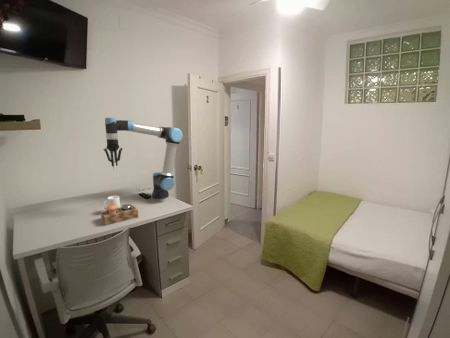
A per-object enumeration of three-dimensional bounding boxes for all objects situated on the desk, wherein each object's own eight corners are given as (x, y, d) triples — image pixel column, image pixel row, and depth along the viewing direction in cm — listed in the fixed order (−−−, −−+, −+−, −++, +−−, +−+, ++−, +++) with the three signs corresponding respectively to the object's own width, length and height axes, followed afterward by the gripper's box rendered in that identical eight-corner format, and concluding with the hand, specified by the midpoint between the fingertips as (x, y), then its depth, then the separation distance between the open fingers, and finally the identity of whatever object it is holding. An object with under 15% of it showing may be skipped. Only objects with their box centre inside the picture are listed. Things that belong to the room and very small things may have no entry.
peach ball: (116, 214, 168) (115, 204, 166) (118, 217, 163) (117, 206, 161) (106, 216, 164) (105, 206, 162) (108, 219, 159) (107, 209, 157)
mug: (104, 216, 170) (103, 200, 168) (103, 212, 177) (101, 197, 175) (121, 212, 177) (120, 197, 174) (119, 209, 184) (118, 194, 181)
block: (133, 212, 178) (132, 204, 177) (138, 217, 169) (137, 209, 168) (101, 219, 165) (100, 211, 164) (105, 225, 156) (104, 217, 154)
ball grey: (130, 213, 174) (129, 203, 173) (133, 216, 170) (132, 206, 168) (121, 215, 170) (120, 205, 169) (124, 218, 166) (123, 208, 164)
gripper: (120, 138, 176) (122, 168, 181) (101, 138, 168) (104, 170, 173) (123, 139, 170) (125, 170, 175) (103, 139, 162) (106, 172, 167)
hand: (115, 170), depth 174 cm, fingers closed
